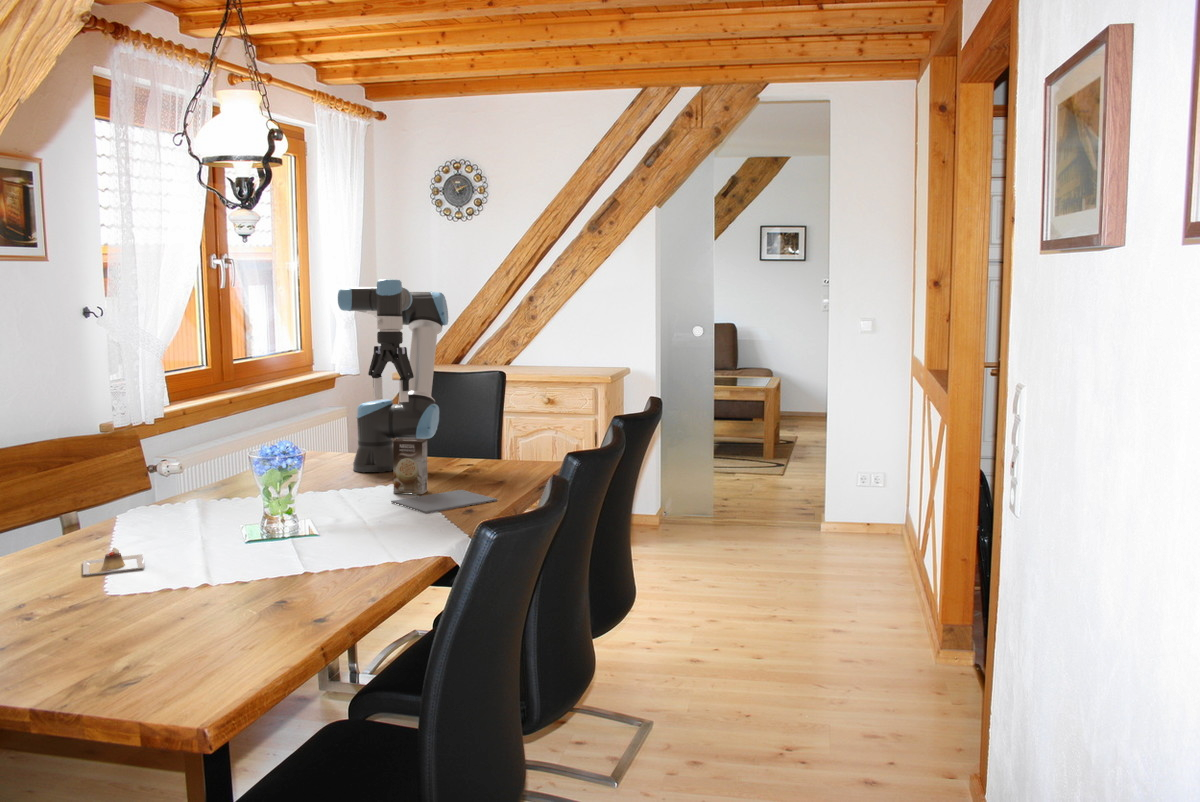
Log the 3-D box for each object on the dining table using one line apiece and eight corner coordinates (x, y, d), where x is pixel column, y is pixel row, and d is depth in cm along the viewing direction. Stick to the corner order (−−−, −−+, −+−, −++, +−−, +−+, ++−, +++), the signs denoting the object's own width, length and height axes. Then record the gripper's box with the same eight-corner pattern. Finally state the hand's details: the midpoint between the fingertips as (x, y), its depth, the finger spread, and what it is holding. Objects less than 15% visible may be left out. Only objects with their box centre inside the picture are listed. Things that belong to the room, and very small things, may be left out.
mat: (391, 502, 282) (391, 500, 282) (461, 491, 298) (461, 489, 298) (425, 513, 269) (425, 511, 268) (497, 501, 285) (497, 498, 285)
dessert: (83, 579, 209) (81, 557, 208) (83, 565, 219) (81, 544, 219) (145, 572, 214) (144, 550, 214) (142, 558, 225) (141, 538, 224)
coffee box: (392, 494, 294) (391, 440, 292) (399, 490, 300) (397, 437, 298) (422, 495, 293) (421, 441, 291) (428, 490, 299) (427, 438, 297)
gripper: (356, 330, 305) (357, 398, 307) (403, 331, 288) (404, 404, 290) (376, 329, 311) (377, 397, 313) (424, 331, 294) (425, 402, 296)
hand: (390, 400), depth 302 cm, fingers open, 13 cm apart
